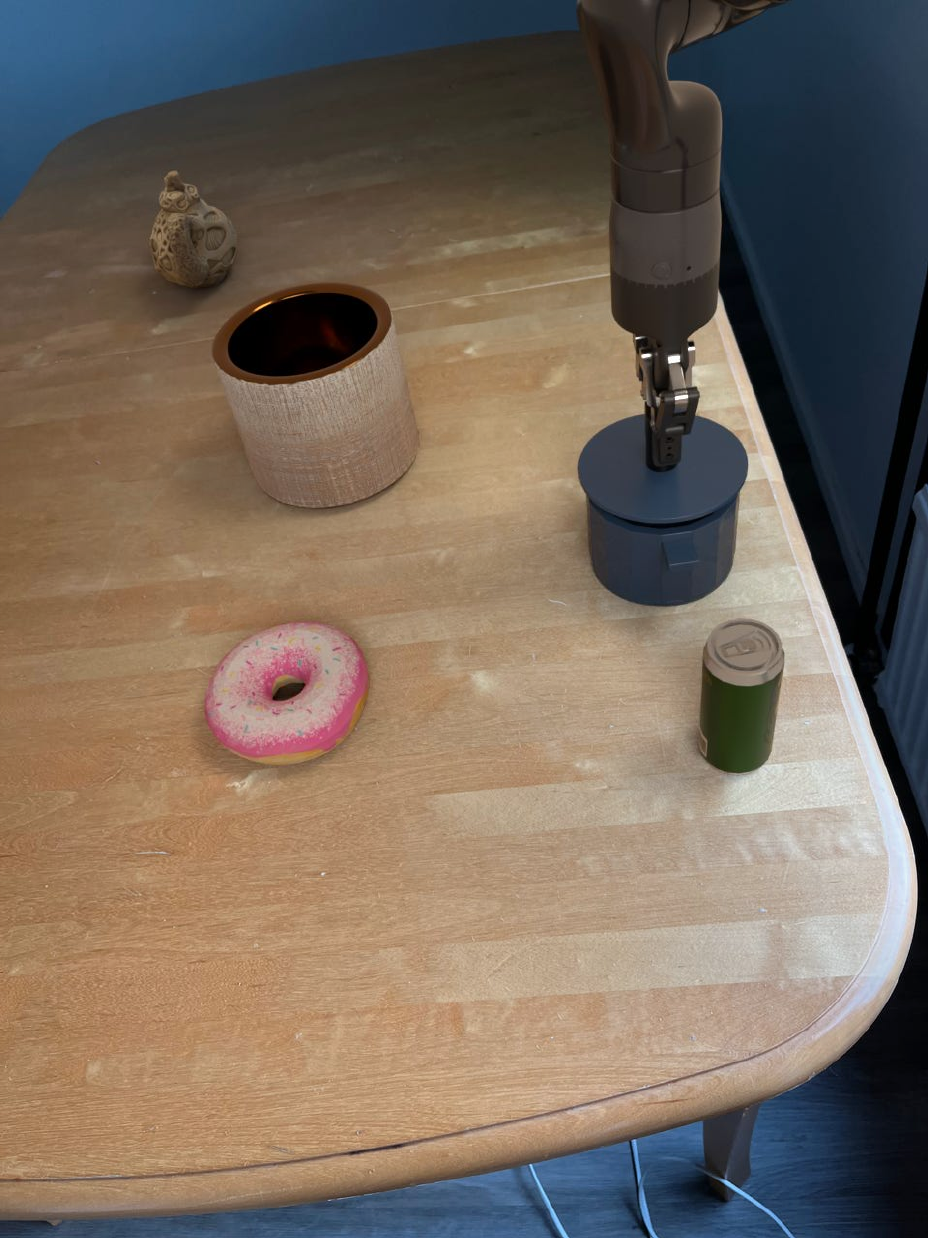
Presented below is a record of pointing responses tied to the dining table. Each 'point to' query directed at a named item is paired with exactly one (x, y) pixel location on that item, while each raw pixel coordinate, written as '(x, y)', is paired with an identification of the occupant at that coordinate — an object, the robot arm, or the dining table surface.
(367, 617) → the dining table surface
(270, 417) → the planter
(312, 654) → the donut
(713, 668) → the beer can
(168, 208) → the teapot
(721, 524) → the blue cooking pot
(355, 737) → the dining table surface
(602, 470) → the lid
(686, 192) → the robot arm
